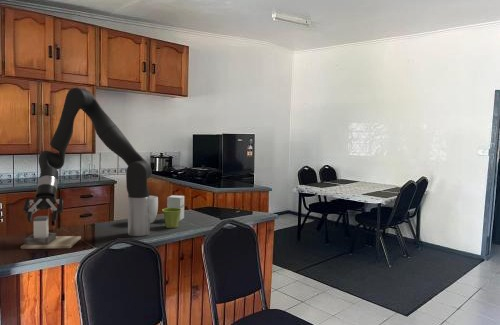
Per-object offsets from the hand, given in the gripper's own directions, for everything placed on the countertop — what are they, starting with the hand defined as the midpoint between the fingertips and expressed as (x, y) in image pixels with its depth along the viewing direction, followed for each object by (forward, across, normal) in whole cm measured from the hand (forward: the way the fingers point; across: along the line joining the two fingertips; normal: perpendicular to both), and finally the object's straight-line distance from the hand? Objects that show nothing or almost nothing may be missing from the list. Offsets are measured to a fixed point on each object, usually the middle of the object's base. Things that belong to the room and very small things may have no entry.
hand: (41, 220), depth 153 cm
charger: (+7, 0, +5) cm, 8 cm away
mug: (-13, +42, +27) cm, 52 cm away
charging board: (+7, +4, +6) cm, 10 cm away
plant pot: (-5, +54, +19) cm, 58 cm away
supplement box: (-16, +58, +30) cm, 67 cm away
